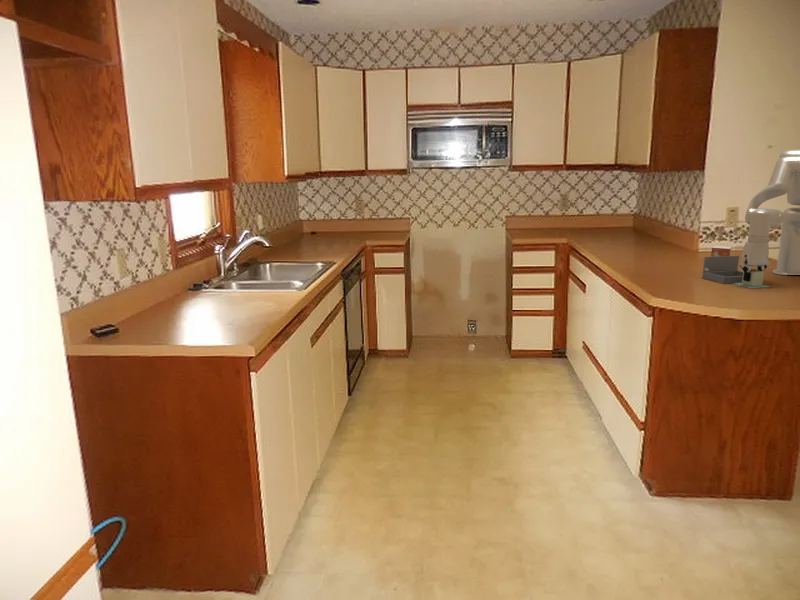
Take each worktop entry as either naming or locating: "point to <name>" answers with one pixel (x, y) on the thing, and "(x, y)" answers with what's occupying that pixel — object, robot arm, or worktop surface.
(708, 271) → the grey open box
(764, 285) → the mat
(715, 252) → the small box
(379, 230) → the worktop surface
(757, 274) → the block
